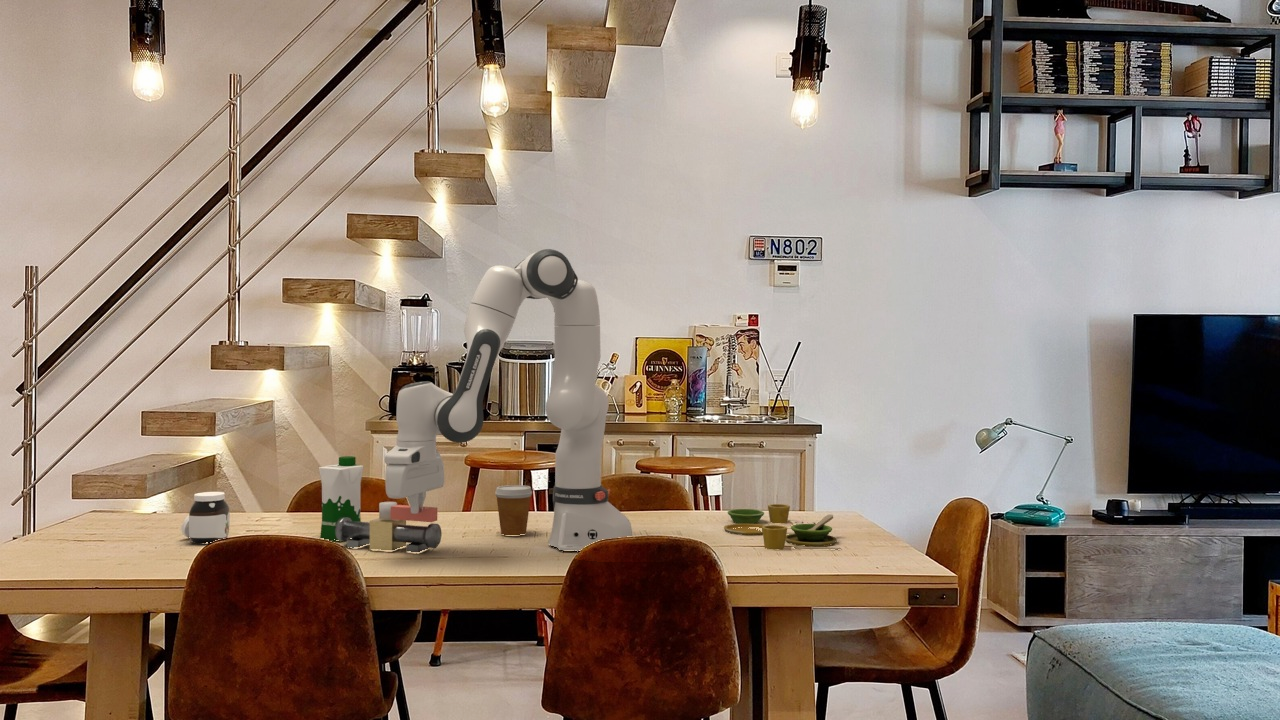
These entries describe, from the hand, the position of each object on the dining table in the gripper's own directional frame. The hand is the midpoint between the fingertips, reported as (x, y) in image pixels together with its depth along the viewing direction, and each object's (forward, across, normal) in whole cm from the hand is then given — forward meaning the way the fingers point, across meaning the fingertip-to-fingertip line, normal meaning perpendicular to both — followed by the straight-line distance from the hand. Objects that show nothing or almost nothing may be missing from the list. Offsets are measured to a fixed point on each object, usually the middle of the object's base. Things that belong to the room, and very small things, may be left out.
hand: (416, 512), depth 219 cm
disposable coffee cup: (+10, -29, +11) cm, 32 cm away
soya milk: (+10, -10, -27) cm, 31 cm away
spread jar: (+9, +3, -58) cm, 58 cm away
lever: (+2, -3, -4) cm, 5 cm away
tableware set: (+11, -52, +75) cm, 91 cm away
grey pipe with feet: (+10, -3, -9) cm, 14 cm away
